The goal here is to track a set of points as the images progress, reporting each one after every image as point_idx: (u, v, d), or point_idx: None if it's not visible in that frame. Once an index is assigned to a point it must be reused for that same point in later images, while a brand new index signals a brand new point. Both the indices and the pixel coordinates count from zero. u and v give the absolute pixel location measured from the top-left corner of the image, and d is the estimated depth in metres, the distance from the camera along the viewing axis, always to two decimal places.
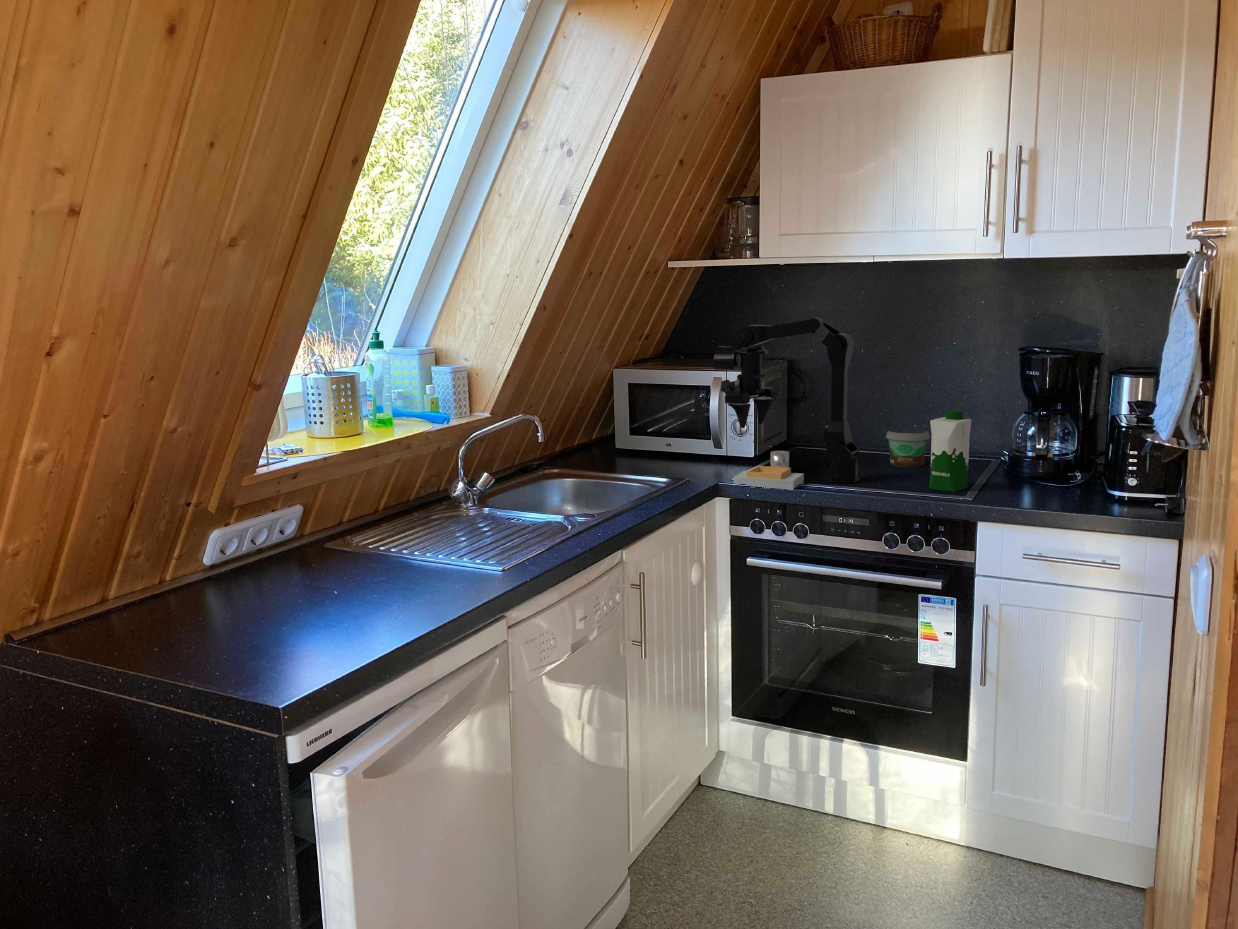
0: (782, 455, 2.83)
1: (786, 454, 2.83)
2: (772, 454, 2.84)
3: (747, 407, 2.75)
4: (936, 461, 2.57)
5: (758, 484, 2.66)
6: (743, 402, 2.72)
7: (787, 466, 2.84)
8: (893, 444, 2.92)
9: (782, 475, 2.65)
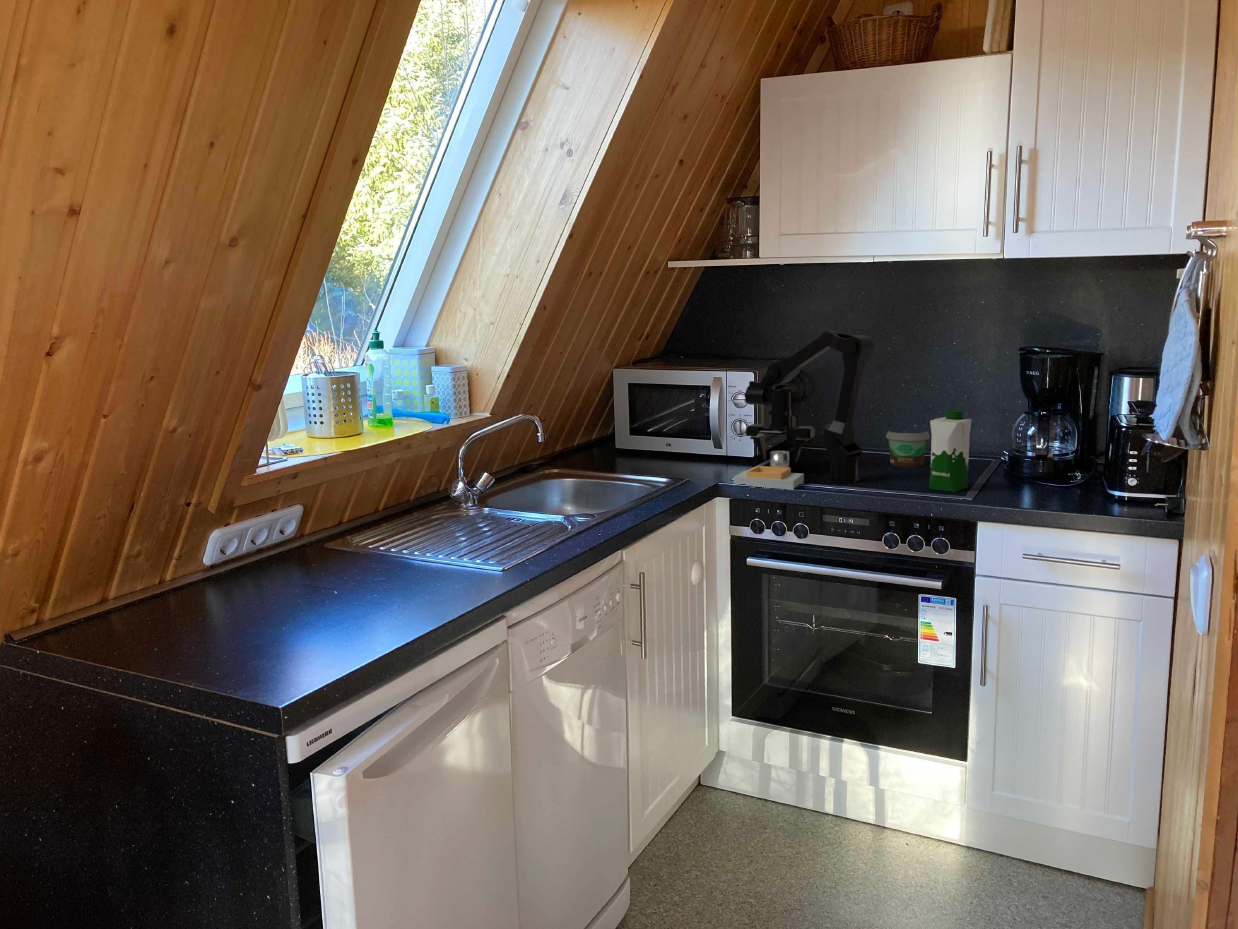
0: (782, 455, 2.83)
1: (786, 454, 2.83)
2: (772, 454, 2.84)
3: (755, 440, 2.85)
4: (936, 461, 2.57)
5: (758, 484, 2.66)
6: (747, 434, 2.85)
7: (787, 466, 2.84)
8: (893, 444, 2.92)
9: (782, 475, 2.65)
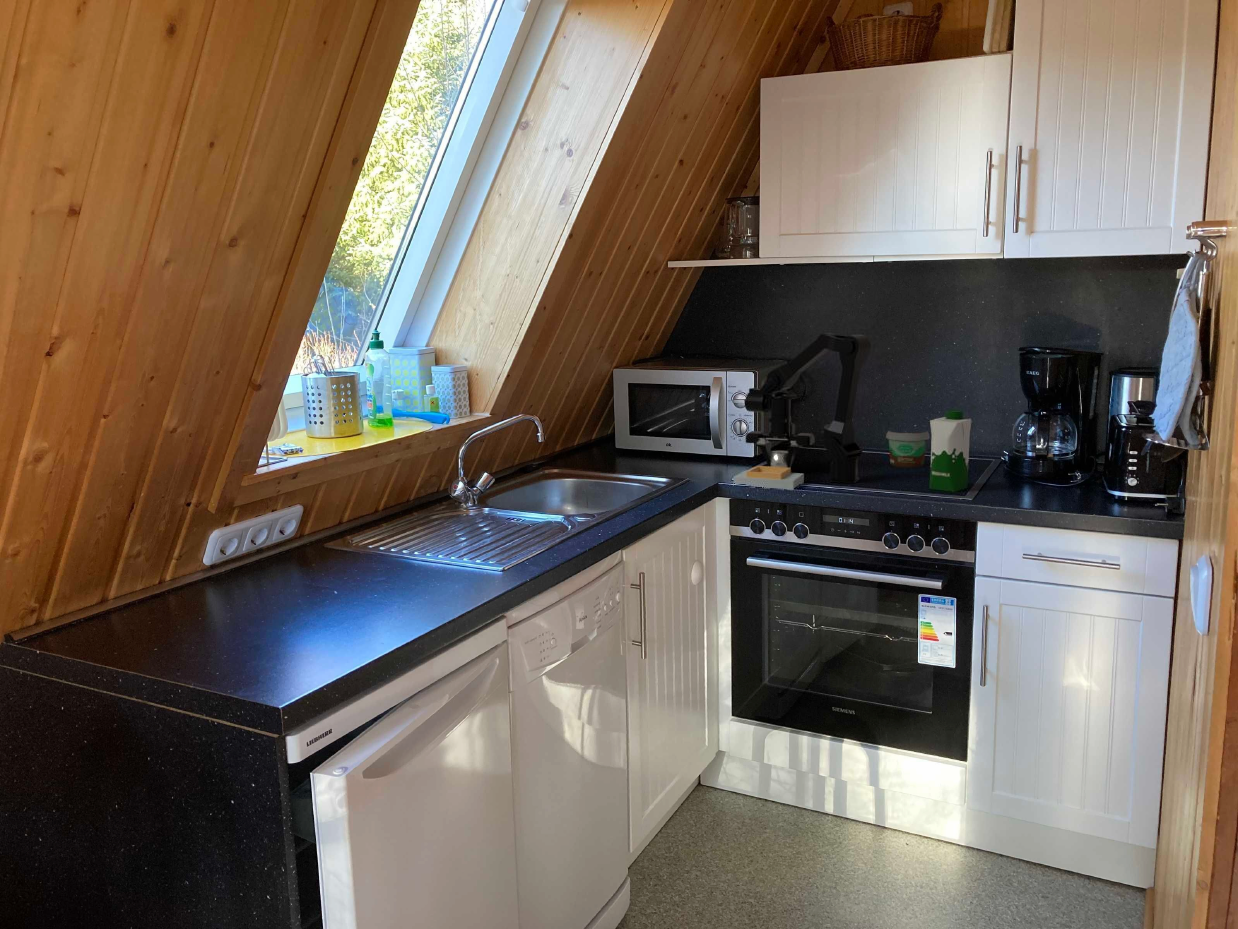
0: (782, 455, 2.83)
1: (786, 454, 2.83)
2: (772, 454, 2.84)
3: (761, 447, 2.84)
4: (936, 461, 2.57)
5: (758, 484, 2.66)
6: (747, 441, 2.86)
7: (787, 466, 2.84)
8: (893, 444, 2.92)
9: (782, 475, 2.65)
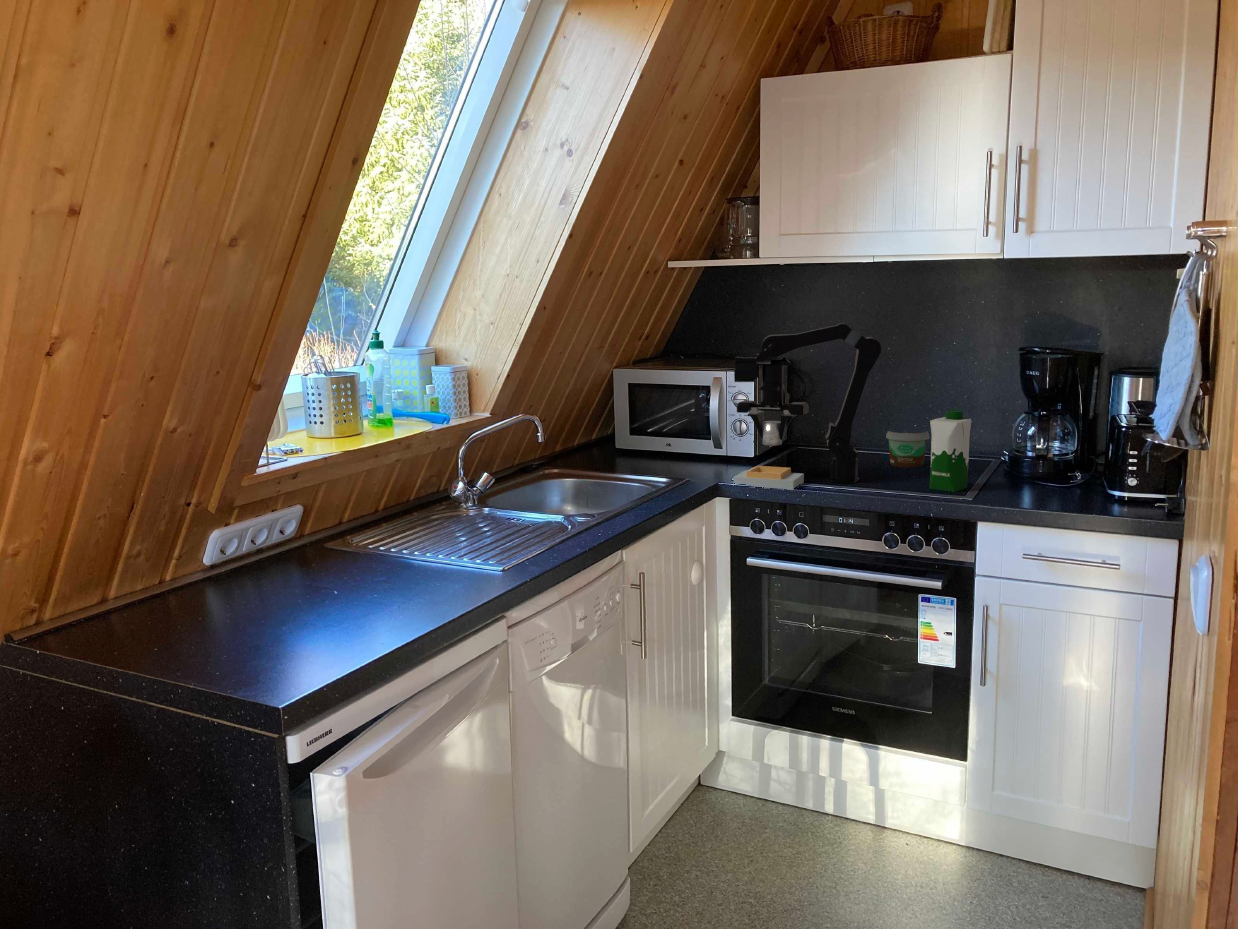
0: (774, 425, 2.70)
1: (779, 424, 2.71)
2: (764, 424, 2.71)
3: (753, 417, 2.72)
4: (936, 461, 2.57)
5: (758, 484, 2.66)
6: (738, 411, 2.73)
7: (780, 437, 2.72)
8: (893, 444, 2.92)
9: (782, 475, 2.65)
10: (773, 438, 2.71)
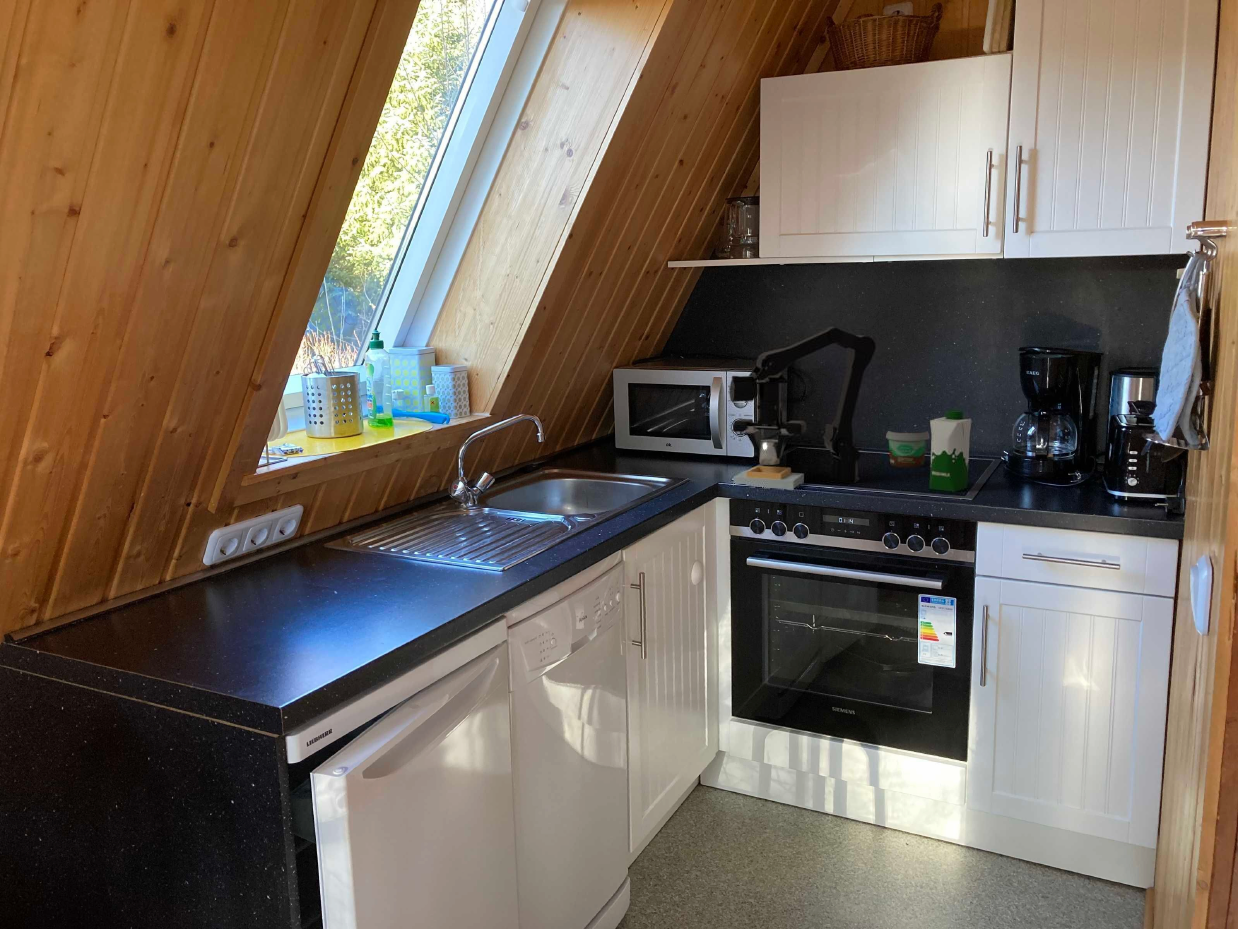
0: (772, 444, 2.66)
1: (776, 443, 2.66)
2: (761, 443, 2.67)
3: (749, 436, 2.67)
4: (936, 461, 2.57)
5: (758, 484, 2.66)
6: (734, 430, 2.69)
7: (777, 456, 2.67)
8: (893, 444, 2.92)
9: (782, 475, 2.65)
10: (771, 458, 2.66)
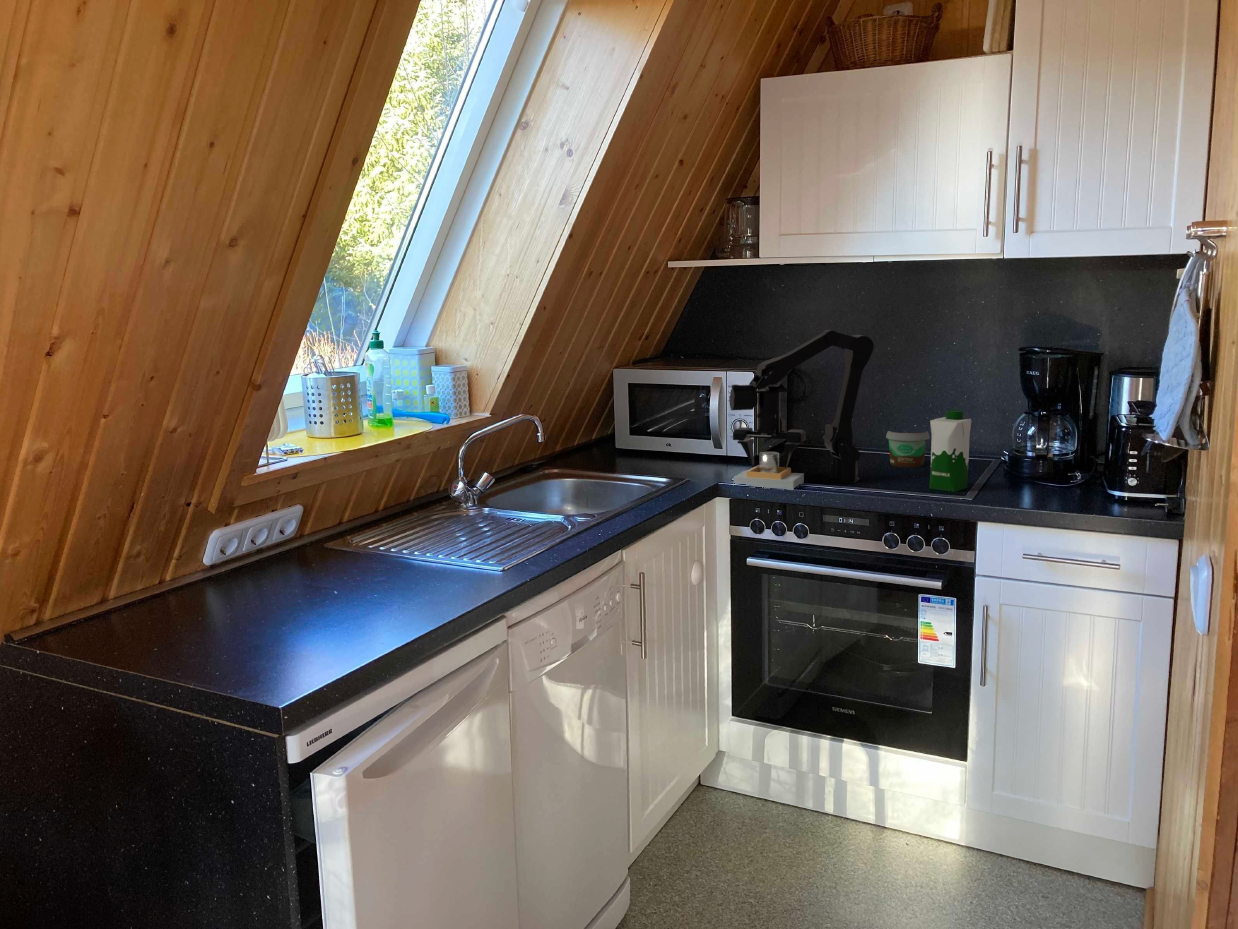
0: (772, 456, 2.66)
1: (776, 455, 2.67)
2: (761, 455, 2.68)
3: (743, 445, 2.69)
4: (936, 461, 2.57)
5: (758, 484, 2.66)
6: (734, 438, 2.69)
7: (777, 468, 2.68)
8: (893, 444, 2.92)
9: (782, 475, 2.65)
10: (771, 470, 2.67)
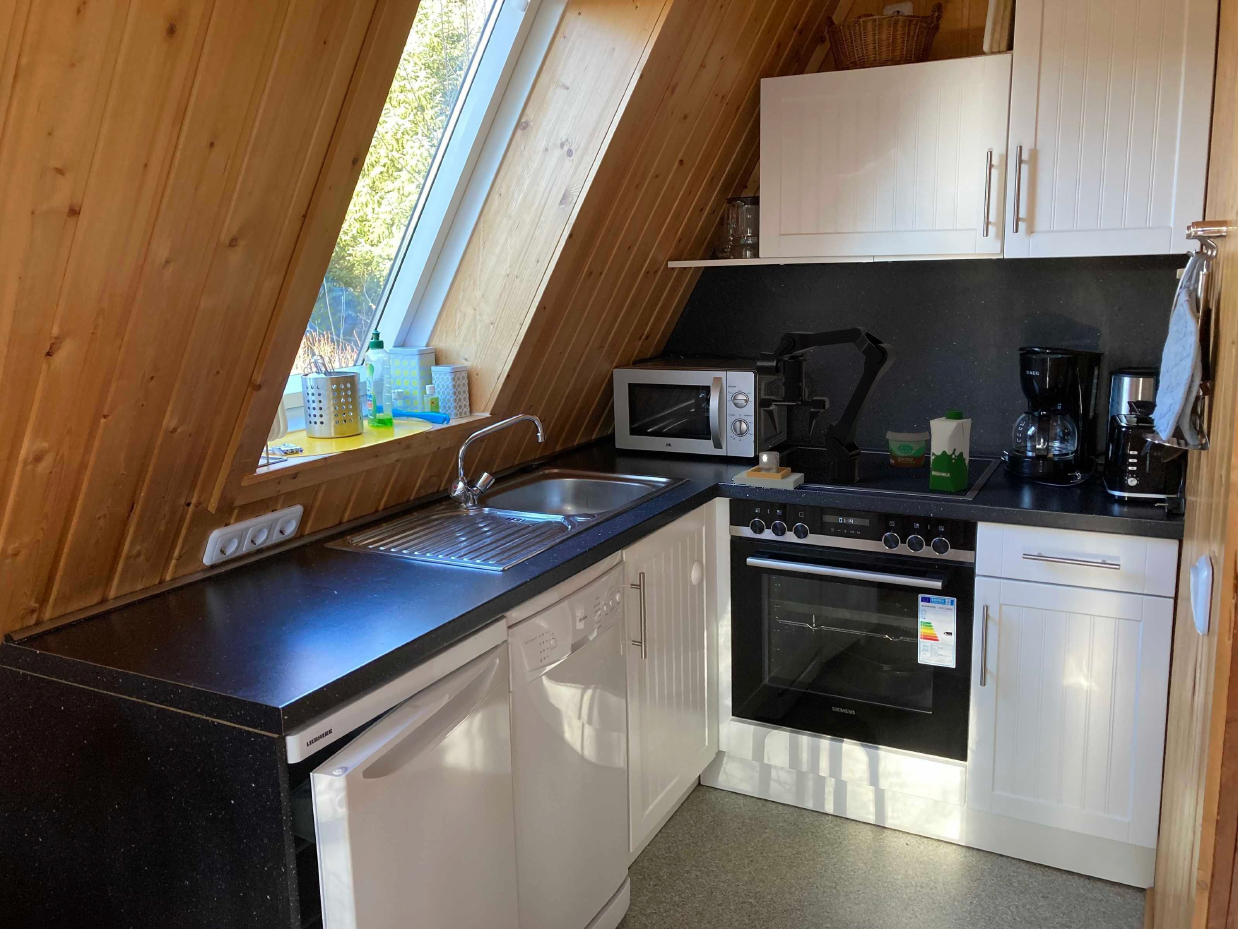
0: (771, 456, 2.66)
1: (776, 455, 2.67)
2: (761, 455, 2.68)
3: (768, 412, 2.78)
4: (936, 461, 2.57)
5: (758, 484, 2.66)
6: (759, 406, 2.78)
7: (777, 468, 2.68)
8: (893, 444, 2.92)
9: (782, 475, 2.65)
10: (770, 470, 2.67)
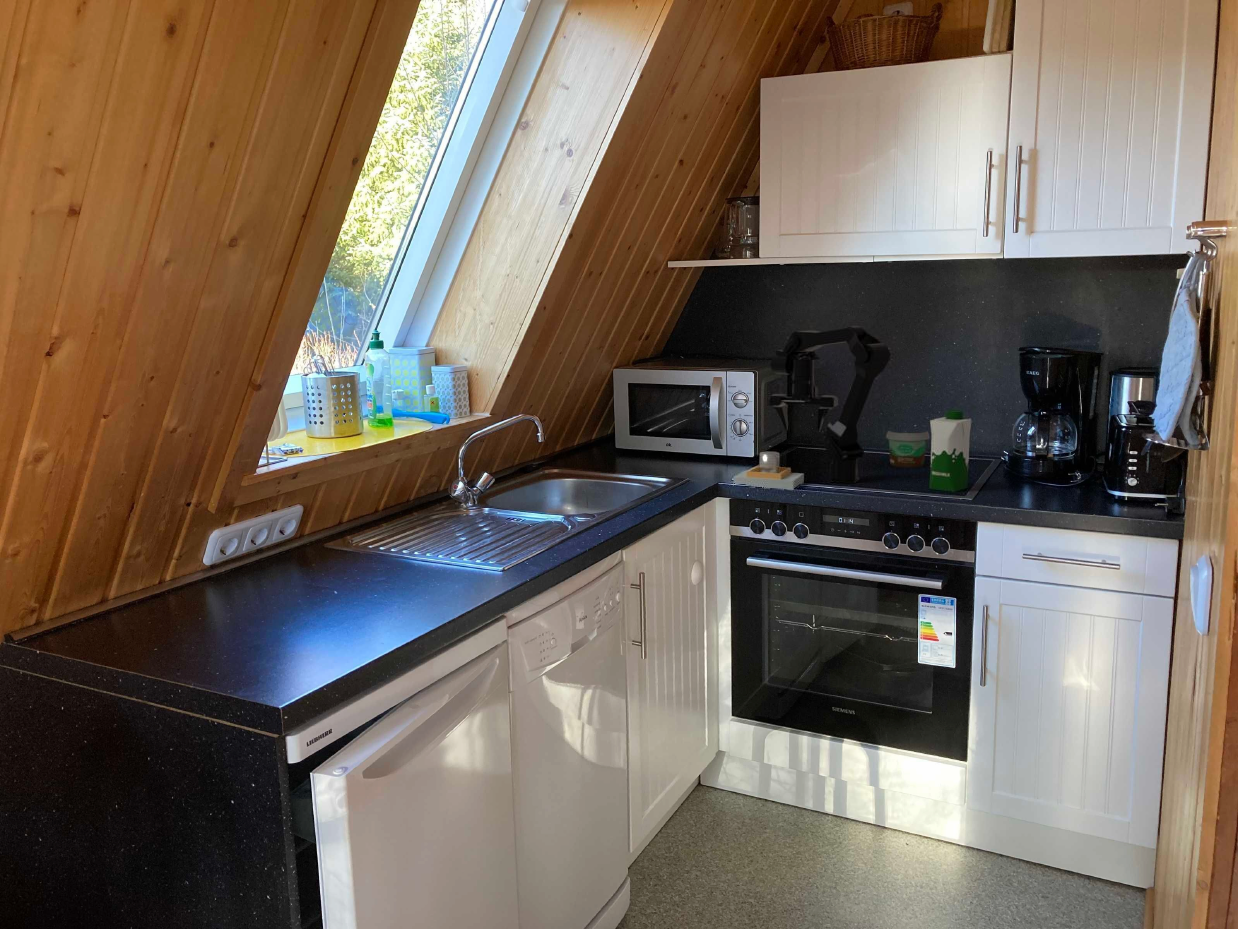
0: (771, 456, 2.66)
1: (776, 455, 2.67)
2: (761, 455, 2.68)
3: (778, 410, 2.83)
4: (936, 461, 2.57)
5: (758, 484, 2.66)
6: (769, 404, 2.83)
7: (777, 468, 2.68)
8: (893, 444, 2.92)
9: (782, 475, 2.65)
10: (770, 470, 2.67)
